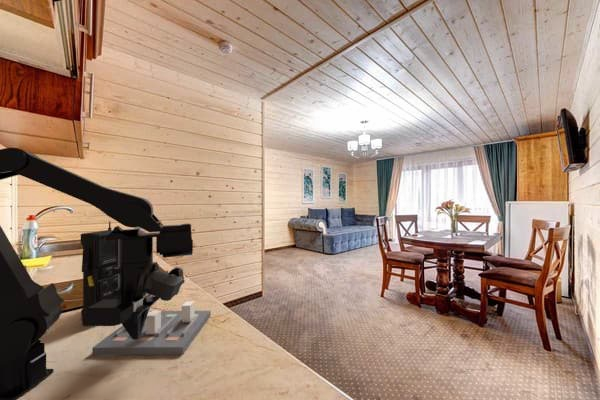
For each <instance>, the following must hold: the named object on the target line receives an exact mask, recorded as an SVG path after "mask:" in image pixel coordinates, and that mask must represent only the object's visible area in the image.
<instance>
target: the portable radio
mask: <svg viewBox="0 0 600 400" xmlns="http://www.w3.org/2000/svg"><path fill="white" fill-rule="evenodd" d="M111 222H112V221H111V220H110V221H108V228H107V229H106V230H99V231H91V232H84V233H81V234H80V245H82V262H81V273H82V290H83V291H82V309H81V310H80V311H81V315H80V316H81V319H80V320H81V321H82V313H83V312H84V311H85V310H86V309H87V308H88V307H90V306H92V305H94V304H96V303H98V302H100V301H101V300H103V299H120V296H113V290H115V289H117V288H118V274H113V268H116V267H118V239H115V240H105V236H107V235H108V234H110V233H111V232H112V231H113V229H112V227H111Z"/></svg>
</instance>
